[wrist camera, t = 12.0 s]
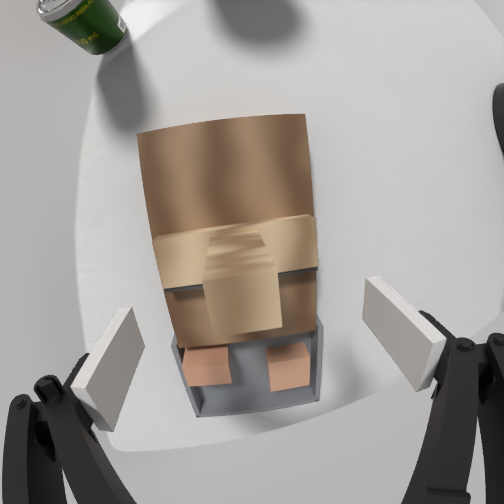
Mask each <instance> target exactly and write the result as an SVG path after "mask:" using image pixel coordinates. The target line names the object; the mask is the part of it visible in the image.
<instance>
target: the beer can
mask: <svg viewBox="0 0 504 504" xmlns="http://www.w3.org/2000/svg"><path fill="white" fill-rule="evenodd" d="M36 11H37V14H39V15H40V18H41V20H43V21H44V22H46V23H47V24H49V25H50V26H52V27H53V28H55V29H56V30H58V31H59V32H60V33H62V34H63V35H65V36H66V37H68V38H69V39H70V40H72V41H73V42H75V43H76V44H77V45H79V46H80V47H81V48H83V49H84V50H86V51H87V52H88V53H91V54H94V55H100V54H106V53H108V52H110V51H112V50H114V49H115V48H116V47H118V45H119V44H120V43H121V42H122V40H123V39H124V37H125V33H126V23H125V22H124V20H123V19H122V17H121V16H120V15H119V14H118V12H117V11H116V10H115V8H114V7H113V6H112V4H111V3H110V2H109V0H38V2H37V5H36Z"/></svg>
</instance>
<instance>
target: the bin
mask: <svg viewBox="0 0 504 504" xmlns="http://www.w3.org/2000/svg"><path fill="white" fill-rule="evenodd" d="M303 342H304V343H305V346H306V348H307V350H308V353H309V355H310V380H309V385H307V386H302V387H296V388H291V389H285V390H279V391H273V392H271V390H270V385H269V381H268V375H267V365H266V354H265V349H266V348H273V347H279V346H285V345H291V344H297V343H303ZM228 344H229V350H230V355H231V373H232V383H228V384H218V385H205V386H189V387H188V384H187V381H186V378H185V375H184V372H183V369H182V364H183V358H184V353H185V348H179V346H178V342H177V339H176V335H175V333H174V337H173V341H172V345H171V347H172V350H173V353H174V356H175V359H176V362H177V365H178V368H179V371H180V374H181V377H182V380H183V383H184V385H185V388H186V391H187V394H188V396H189V399H190V402H191V404H192V407H193V409H194V412H195V414H196V417H211V416H224V415H235V414H244V413H253V412H260V411H267V410H274V409H280V408H286V407H291V406H296V405H302V404H306V403H311V402H316V401H319V396H320V383H321V367H322V347H323V325H322V323H321V321H320V320H319V318H318V316H317V314H316V330H313V331H308V332H302V333H297V334H291V335H285V336H278V337H272V338H265V339H258V340H251V341H243V342H235V343H228Z"/></svg>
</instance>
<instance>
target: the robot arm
mask: <svg viewBox="0 0 504 504" xmlns="http://www.w3.org/2000/svg"><path fill="white" fill-rule="evenodd" d="M493 114H494V121H495V126H496V131H497V134H498V138H499V141H500V144H501V146H502V149H503V151H504V83H501V84H499V85H497V87H496V88H495V91H494V95H493ZM362 319H363V321H364V322H365V323H366V325H367V326H368V327H369V328H370V330H371V331H372V332H373V334H374V335H375V336H376V338H377V339H378V340H379V342H380V343H381V344H382V345H383V347H384V348H385V349H386V351H387V352H388V353H389V355H390V356H391V358H392V359H393V360H394V362H395V363H396V364H397V366H398V367H399V368H400V370H401V371H402V372H403V374H404V375H405V377H406V378H407V379H408V381H409V382H410V384H411V385H412V386H413V388H414V389H415V391H416V392H418V391H421V390H423V389H426V388H428V387H430V385H431V382H432V380H433V377H434V378H435V379H436V380H437V382H438V383H437V385H436V387H435V390H434V392H433V394H432V397H431V399H433V404H432V408H431V413H430V417H429V422H428V426H427V430H426V434H425V437H424V441H423V444H422V448H421V452H420V455H419V458H418V461H417V464H416V467H415V470H414V473H413V475H412V478H411V481H410V483H409V486H408V489H407V491H406V493H405V496H404V498H403V501H402V503H401V504H470V499H471V496H470V494H469V493H468V492H466V487H467V483H468V478H469V473H470V468H471V463H472V457H473V451H474V444H475V435H476V426H477V425H476V424H477V416H478V420H479V427H480V433H481V440H482V447H483V456H484V466H485V485H486V504H504V334H501V333H492V334H490V335H489V337H488V340H487V343H484V344H477V345H476V344H475V343H474V342H473V341H472V340H470V339H467V338H456V337H455V336H453V335H452V334H451V333H450V332H449V331H448V330H447V329H446V328H445V327H444V326H443V325H441V324H440V323H439V322H438V321H436V319H435V318H434V317H433V316H431V315H430V314H428V313H426V312H424V311H422V310H421V311H417V310H416V309H415V308H414V307H412V306H411V305H410V304H409V303H408V302H407V301H406V300H405V299H403V298H402V297H401V296H400V295H399V294H398V293H397V292H395V291H394V290H393V289H392V288H391V287H390V286H389V285H387V284H386V283H385V282H384V281H383V280H382V279H380V278H379V277H378V276H372V277H367V278H365V294H364V306H363V317H362ZM144 348H145V345H144V342H143V339H142V336H141V333H140V331H139V328H138V325H137V322H136V318H135V315H134V312H133V309H132V307H120V308H119V309H118V311H117V312H116V314H115V315H114V317H113V318H112V320H111V321H110V323H109V324H108V326H107V328H106V329H105V331H104V332H103V334H102V335H101V337H100V338H99V340H98V341H97V343H96V345H95V346H94V348H93V349H92V351H91V353H86V354H85V355H84V356H83V357H81V358H80V359H79V361H78V362H77V364H76V366H75V367H74V368H73V370H72V373H70V375H69V377H68V379H67V380H66V382H65V383H64V385H63V386H62V385H61V383H60V381H59V380H58V378H57V377H56V376H54V375H47V376H44V377H42V378H40V379H39V380H38V381H37V382H36V384H35V385H34V391H35V393H36V394H37V396H38V397H39V399H40V400H41V401H40V402H33V401H32V400H31V398H30V397H29V396H28V395H26V394H21V395H18V396H16V397H15V398H14V399H13V400H12V402H11V404H10V407H9V414H8V419H7V426H6V434H5V442H4V452H3V469H2V470H3V471H2V499H3V504H67V500H66V494H65V488H64V482H63V474H62V468H63V471H64V474H65V476H66V479H67V481H68V483H69V485H70V488H71V490H72V492H73V494H74V497H75V499H76V501H77V503H78V504H136V502H135V501H134V499H133V498H132V496H131V495H130V494H129V492H128V491H127V489H126V488H125V486H124V485H123V483H122V482H121V480H120V479H119V477H118V475H117V474H116V472H115V470H114V468H113V467H112V465H111V463H110V462H109V460H108V458H107V456H106V455H105V453H104V451H103V449H102V447H101V445H100V443H99V441H98V439H97V438H96V435H95V433H94V432H93V430H92V429H91V426H92V424H93V422H94V423H95V425H96V426H97V428H98V429H99V430H103V431H110V432H114V429H115V426H116V423H117V420H118V417H119V414H120V411H121V408H122V406H123V403H124V400H125V397H126V395H127V392H128V389H129V386H130V384H131V381H132V378H133V376H134V373H135V371H136V368H137V365H138V363H139V360H140V358H141V355H142V353H143V350H144ZM433 397H434V398H433Z"/></svg>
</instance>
